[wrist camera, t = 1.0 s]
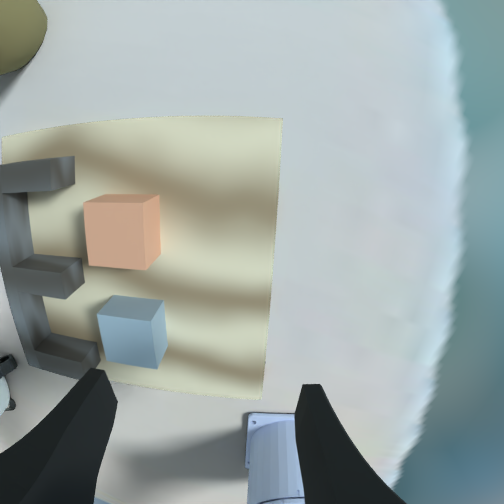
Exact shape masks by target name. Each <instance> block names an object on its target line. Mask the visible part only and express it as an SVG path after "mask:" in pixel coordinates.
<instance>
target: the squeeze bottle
mask: <svg viewBox="0 0 504 504" xmlns="http://www.w3.org/2000/svg"><path fill="white" fill-rule="evenodd" d="M46 30H47V16H46V14H45V12H44V10H43V9H42V7H41V6H40V4H39V3H38V1H37V0H0V75H3V74H6V73H9V72H12V71H16V70H18V69H19V68H21V67H23V66H24V65H26V64H27V63H28V62H29V61H30V60H31V58H32V57H33V56H34V55H35V54H36V52H37V51H38V49H39V47H40V45H41V44H42V42H43V39H44V36H45V33H46Z"/></svg>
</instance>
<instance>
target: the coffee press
mask: <svg viewBox="0 0 504 504" xmlns="http://www.w3.org/2000/svg"><path fill="white" fill-rule="evenodd" d="M16 367H17V364H16V362H15V360H14V359H13V357H12V355H7V356H5V357H3V358H1V359H0V416H1V414H2V413H3V412H4V411H10V410H14V409H15V407H16V404H15V402H14V400H13V399H10V394H9V388H8V385H7V382H6V380H5V377H4V376H5V375H6V374H8V373H9V372H11V371H13V370H14V369H15V368H16ZM9 403H10V406H9V408H7V406H8V404H9Z"/></svg>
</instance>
